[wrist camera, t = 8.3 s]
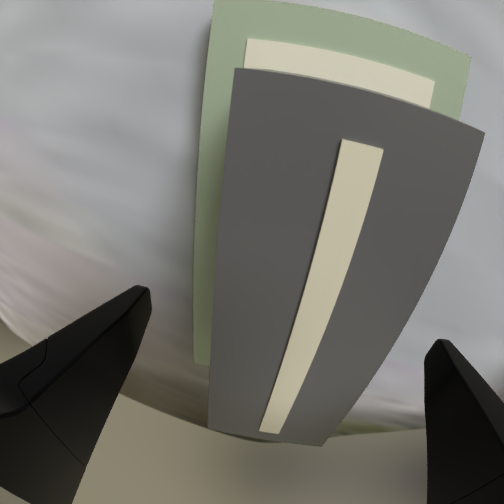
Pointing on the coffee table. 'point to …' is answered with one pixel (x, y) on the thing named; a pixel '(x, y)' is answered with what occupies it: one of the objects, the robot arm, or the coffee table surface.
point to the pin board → (311, 64)
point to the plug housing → (323, 245)
